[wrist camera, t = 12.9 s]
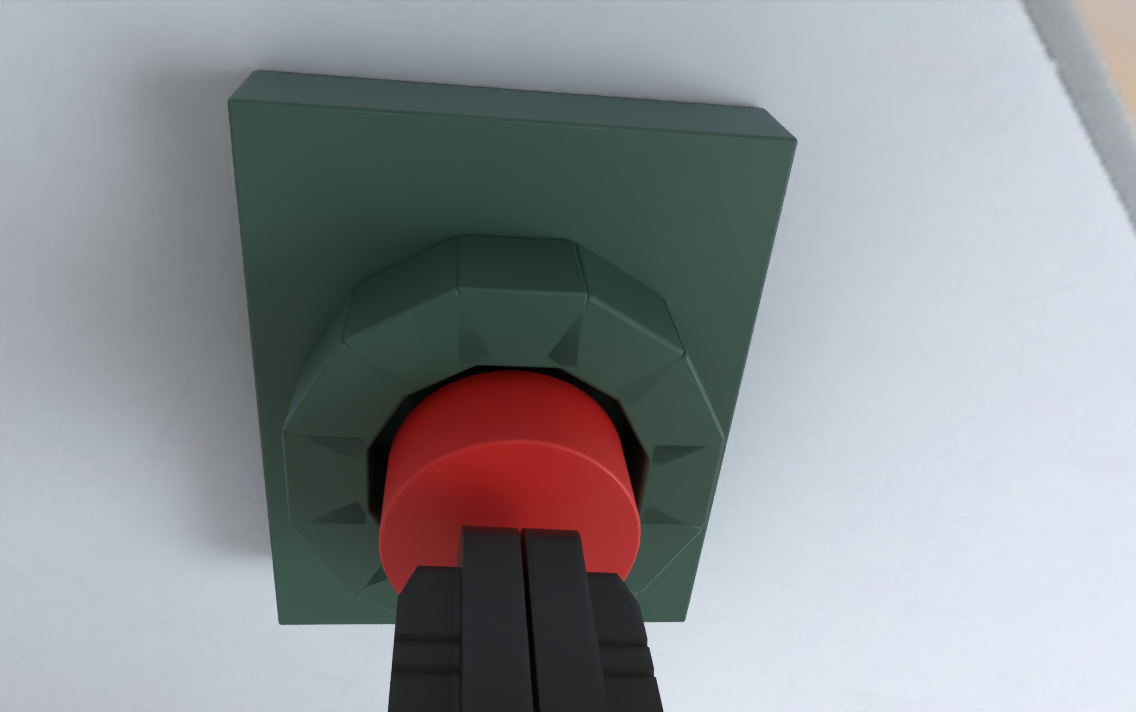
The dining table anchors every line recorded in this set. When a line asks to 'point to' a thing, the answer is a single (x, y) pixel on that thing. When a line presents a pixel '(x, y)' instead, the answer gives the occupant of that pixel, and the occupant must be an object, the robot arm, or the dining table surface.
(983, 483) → the dining table surface
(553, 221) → the button block
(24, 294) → the dining table surface
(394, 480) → the button
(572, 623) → the robot arm
